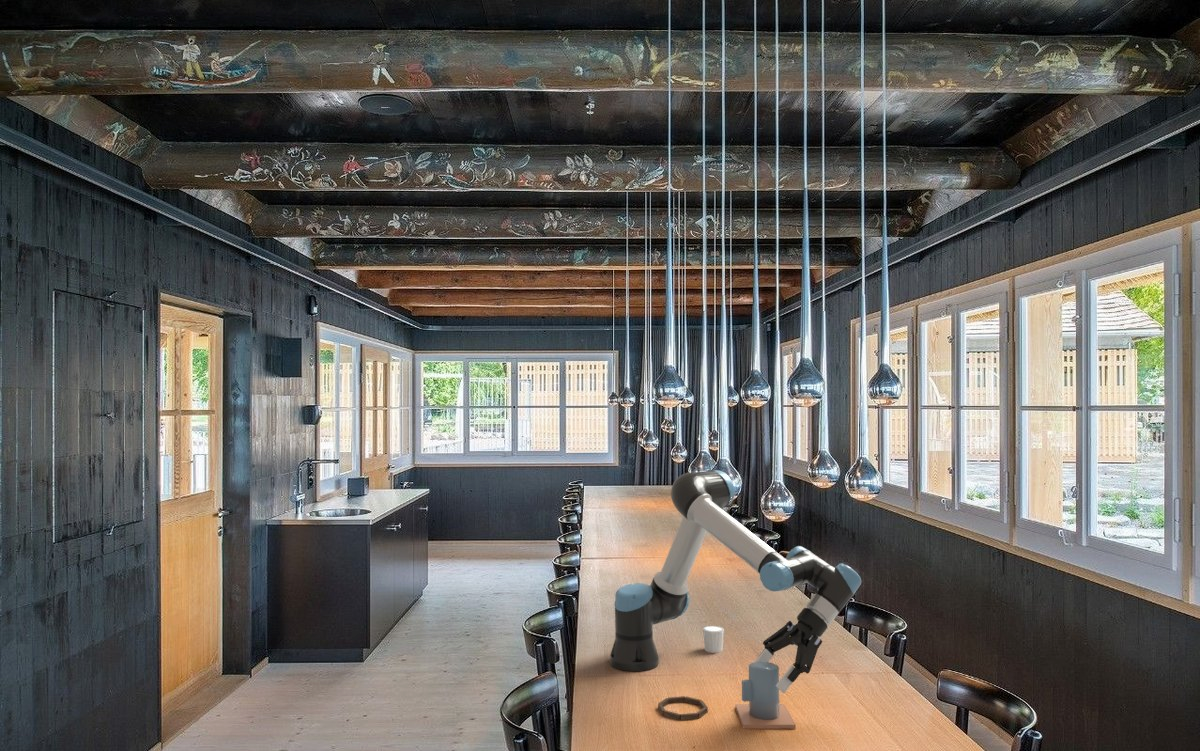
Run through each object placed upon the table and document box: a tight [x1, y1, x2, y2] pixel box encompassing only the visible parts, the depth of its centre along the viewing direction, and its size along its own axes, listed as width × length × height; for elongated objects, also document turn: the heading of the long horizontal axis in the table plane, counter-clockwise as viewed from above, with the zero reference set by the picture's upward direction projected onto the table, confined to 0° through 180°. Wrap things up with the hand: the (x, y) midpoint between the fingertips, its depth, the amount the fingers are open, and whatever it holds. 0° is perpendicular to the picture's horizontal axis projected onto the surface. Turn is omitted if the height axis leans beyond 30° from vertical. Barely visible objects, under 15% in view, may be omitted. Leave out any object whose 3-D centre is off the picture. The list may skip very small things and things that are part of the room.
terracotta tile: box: [734, 703, 797, 730], centre depth 200 cm, size 13×13×1 cm
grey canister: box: [741, 661, 780, 720], centre depth 200 cm, size 10×8×12 cm
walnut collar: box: [657, 695, 709, 721], centre depth 206 cm, size 12×12×1 cm
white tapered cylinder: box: [702, 625, 725, 654], centre depth 255 cm, size 7×7×7 cm
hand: (766, 680), depth 200 cm, fingers open, 13 cm apart
